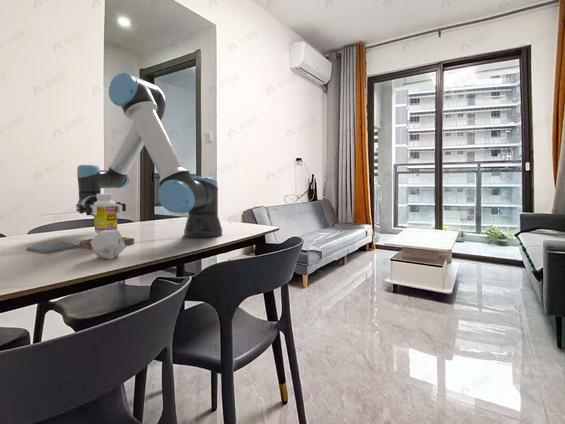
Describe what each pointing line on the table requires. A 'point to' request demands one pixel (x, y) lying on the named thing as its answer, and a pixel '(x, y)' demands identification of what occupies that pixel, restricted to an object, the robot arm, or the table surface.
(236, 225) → the table surface
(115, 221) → the supplement bottle
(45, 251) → the slate coaster
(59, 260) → the table surface
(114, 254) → the die
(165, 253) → the table surface
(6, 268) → the table surface
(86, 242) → the walnut frame
